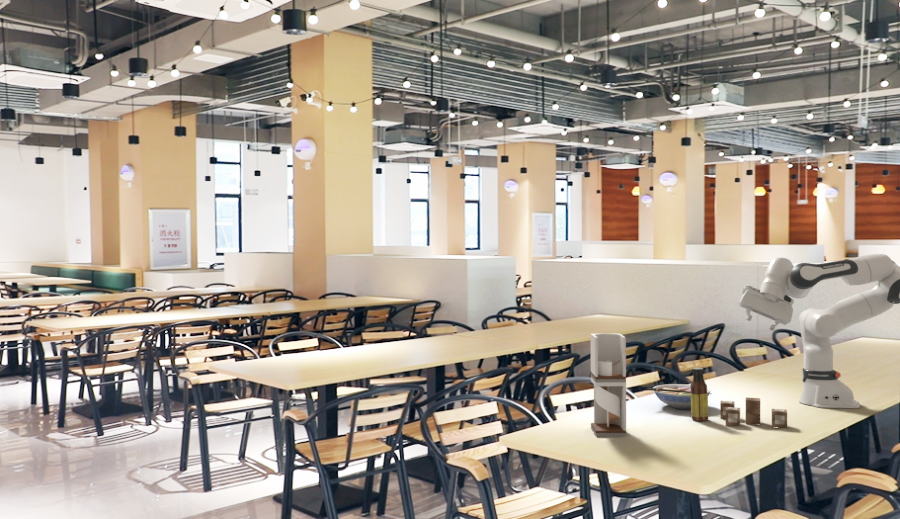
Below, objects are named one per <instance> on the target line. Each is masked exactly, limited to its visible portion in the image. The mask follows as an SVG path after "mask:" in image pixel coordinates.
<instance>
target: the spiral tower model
mask: <svg viewBox="0 0 900 519" xmlns="http://www.w3.org/2000/svg"><path fill="white" fill-rule="evenodd" d="M589 341H590V381H591V383H592V384H593V415H594V416H593V417H594V418H593V422H591V424H590V429H591V431H592V432H594V433H593V434H594V436H595V437H596V436H598V437H627V343H626V342H627V340H626V336H624V335H623V334H621V333H619V332H618V333H617V332H616V333H615V332H613V333H612V332H611V333H605V332H604V333H600V332H599V333H590V339H589Z"/></svg>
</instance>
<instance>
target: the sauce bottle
mask: <svg viewBox="0 0 900 519" xmlns="http://www.w3.org/2000/svg"><path fill="white" fill-rule="evenodd" d="M704 371H705V370H704V368H703V367H692V377H693V378H692V381H691V383H690V384H689V385H690V387H691V408H690V411H691V414H690V415H691V420H693V421H694V420H695V422H706V421H708V420H709V400H708V399H709V396H708V393H707V388H708V385H707V383H706V381H705V380H704Z"/></svg>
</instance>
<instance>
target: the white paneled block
mask: <svg viewBox="0 0 900 519" xmlns="http://www.w3.org/2000/svg"><path fill="white" fill-rule="evenodd" d="M719 406H720V420H726V407H734V408H735V401H732V400H720V404H719Z"/></svg>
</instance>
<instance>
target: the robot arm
mask: <svg viewBox="0 0 900 519" xmlns="http://www.w3.org/2000/svg"><path fill="white" fill-rule="evenodd" d="M838 278H841V280H842V281H843V282H844V283H845V284H847V285H849V286H860V285H861V286H862V285H867V284H871V283H875V284H876V285H875V287H873V288H871V289H868V290H864V291H862V292H859V293H856V294H853V295H850V296H848V297H845V298H843V299H840V300H838V301H837V302H836V303H834V304H832V305H830V306H828V307H825V308H822V309H820V308H815V307H810V308H808V309H807V308H806V309H804V310H803V311H801V313H800V314H799V316H798V324H799V328H800V337H801V341H802V342H801V343H802V347H803V368H802V372H801V379H802V389H801V393H800V397H799V403H801V404H803V405H808V406H813V407H816V408H822V409H823V408H824V409H825V408H826V409H828V408H829V409H830V408H831V409H859V408H860V407H861V404H860V401H857V400H855V396H854V392H853V390H852V389H851V388H850V386H848V385H847V384H846V383H844V382H843V381H841V380H840V377H841V373H840V372H839V371H836V370H835V369H834V350H833V347H832V344H831V340H830V338H831V337H832V338H833V337H834V336H836V335H837V334H838V333H841V332H842V331H844V330H846V329H847V328H850V327H852V326H853V325H856V324H859V323H862V322H865V321H867V320H870V319H873V318H875V317H877V316H879V315H882V314H883V313H885V312H887V311H889V310H890V309H891V308H893V307H894V305H898V304H900V266H899V265H898V264H897V263H896V262H895V261H893V260H892V259H891V258H890V256H888V255H887V254H884V253H876V254H866V255H861V256H856V257H853V258H848V259H844V260H836V261H835V260H834V261H831V262H824V263H811V262H802V263H800V262H799V263H797V264H796V265H793V263H792V261H791V259H788V258H785V257H776V258H773V259H772V260H770V262H769V264H768V265H767V268H766V269H765V273H764V275H763V281H762V282H761V283H760V284H761V285H760V288H756V287H753V286H751V285H748V286H747V285H746V286H744V288H743V290H742V296H741V297H740V300H739V302H738V304H739V307H741V308H742V309H743V308H744V309H745V312H746V314H745V315H746V321H749V322H750V321H751V320H752V319H753V315H751V312H752V313H755V314H757V315H759V316H762V317H765V318H767V319H769V320H772V321H774V324H771V325H770V326H769V331H775V329H776V327H777V326H778V325H779V324H781V325H784V326H785V325H788V324H789V323H791V321H792V318H793V312H794V308H793V304H794V302H795V300H794V299H802V298H805V297H807V295H808V294H809V293H810V292H811V290H812V289H813V288H814V287H815V285H817V284H818V283H820V282H821V281H822V282H823V281H826V280H831V279H838ZM793 298H794V299H793Z"/></svg>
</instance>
